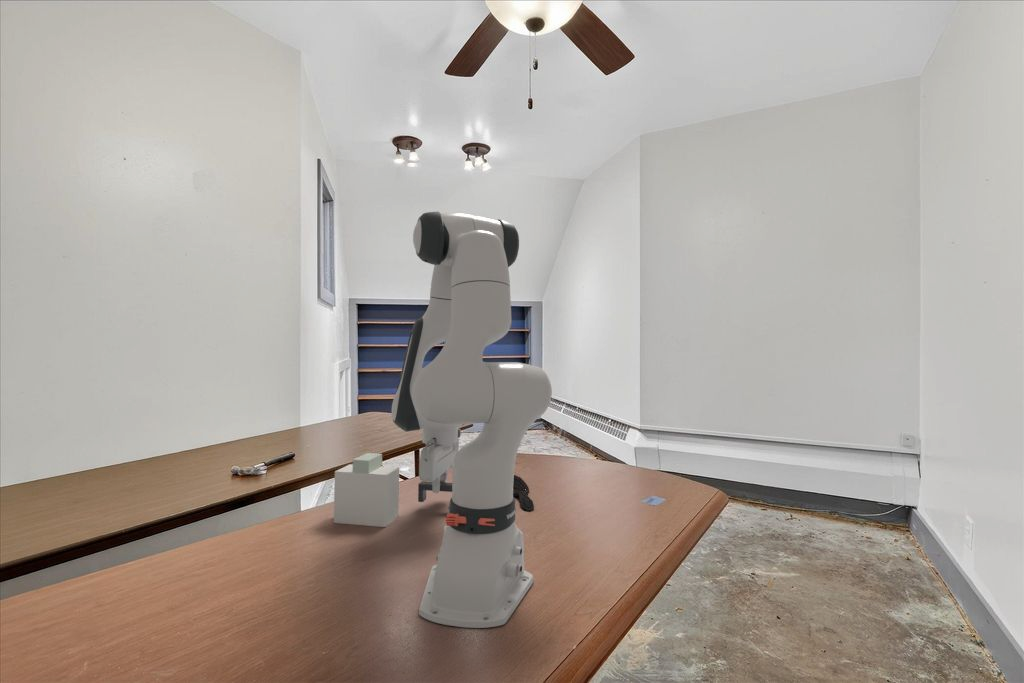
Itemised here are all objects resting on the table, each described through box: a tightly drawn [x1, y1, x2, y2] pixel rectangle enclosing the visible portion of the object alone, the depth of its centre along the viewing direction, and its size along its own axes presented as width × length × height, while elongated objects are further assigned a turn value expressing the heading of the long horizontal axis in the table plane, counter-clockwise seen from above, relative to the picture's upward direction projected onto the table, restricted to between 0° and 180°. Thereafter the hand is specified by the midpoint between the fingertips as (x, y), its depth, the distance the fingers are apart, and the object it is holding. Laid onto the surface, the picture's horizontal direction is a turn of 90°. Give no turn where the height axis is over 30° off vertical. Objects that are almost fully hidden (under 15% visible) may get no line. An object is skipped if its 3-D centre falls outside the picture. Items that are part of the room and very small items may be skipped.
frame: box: [417, 481, 452, 503], centre depth 120 cm, size 10×2×4 cm, turn 80°
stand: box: [333, 452, 400, 528], centre depth 113 cm, size 13×7×15 cm, turn 80°
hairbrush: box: [513, 474, 535, 513], centre depth 132 cm, size 8×4×25 cm
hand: (439, 489), depth 120 cm, fingers closed on frame, 2 cm apart
